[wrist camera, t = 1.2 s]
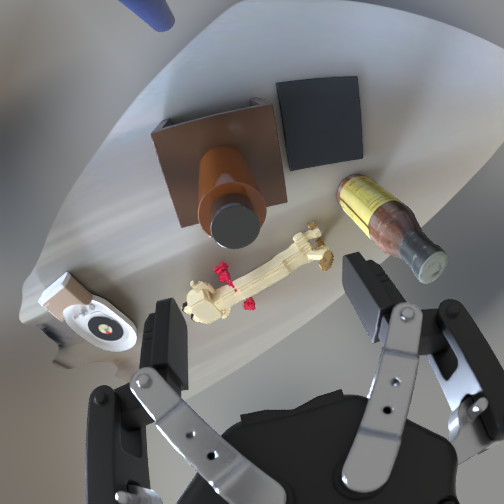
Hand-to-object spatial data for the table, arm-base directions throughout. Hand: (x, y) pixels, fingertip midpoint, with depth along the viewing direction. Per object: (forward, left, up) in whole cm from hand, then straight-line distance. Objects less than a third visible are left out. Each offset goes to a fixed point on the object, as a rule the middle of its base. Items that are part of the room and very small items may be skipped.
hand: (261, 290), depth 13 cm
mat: (-1, +13, -26) cm, 30 cm away
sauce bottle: (+10, +17, -27) cm, 33 cm away
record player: (+23, -31, -27) cm, 47 cm away
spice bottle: (0, -1, -18) cm, 18 cm away
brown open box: (0, -1, -26) cm, 26 cm away
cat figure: (+20, -1, -27) cm, 33 cm away
